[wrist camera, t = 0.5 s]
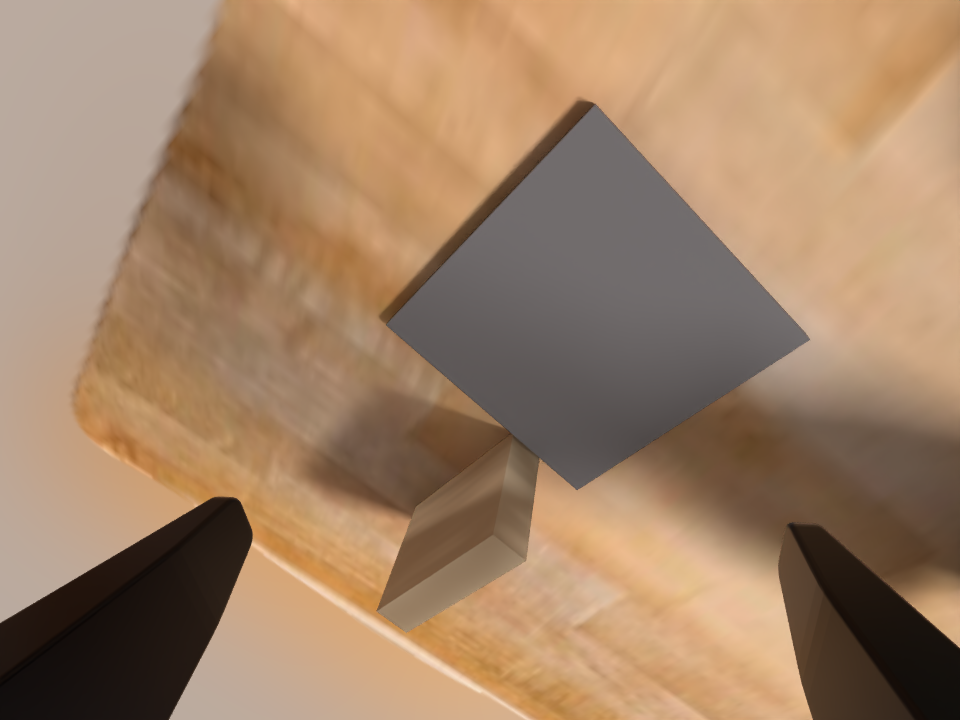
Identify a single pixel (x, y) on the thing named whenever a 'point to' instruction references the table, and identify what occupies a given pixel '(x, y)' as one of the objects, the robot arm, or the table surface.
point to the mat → (594, 308)
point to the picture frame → (464, 535)
